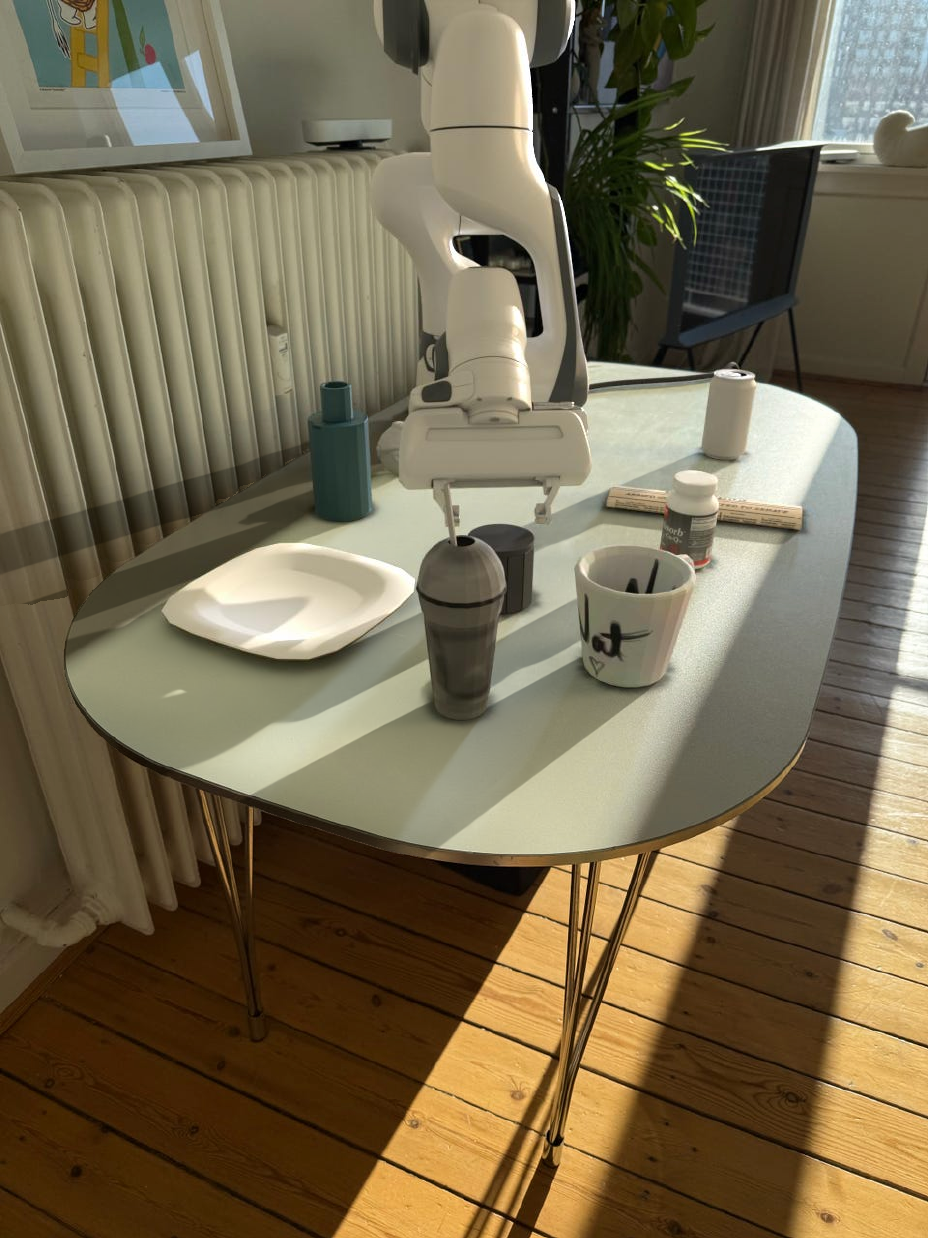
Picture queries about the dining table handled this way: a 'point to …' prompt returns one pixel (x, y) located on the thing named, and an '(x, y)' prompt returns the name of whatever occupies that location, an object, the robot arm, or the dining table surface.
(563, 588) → the dining table surface
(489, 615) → the beverage cup
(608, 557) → the mug
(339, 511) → the flask
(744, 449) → the beverage can
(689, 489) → the pill bottle
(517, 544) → the flask lid
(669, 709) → the dining table surface
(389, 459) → the cream lumpy ball
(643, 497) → the newspaper
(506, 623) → the dining table surface
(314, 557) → the plate
